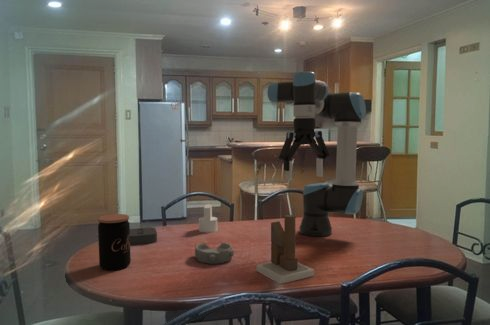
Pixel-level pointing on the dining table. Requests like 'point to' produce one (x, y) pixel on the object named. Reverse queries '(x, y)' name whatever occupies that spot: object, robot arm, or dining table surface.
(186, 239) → the dining table surface
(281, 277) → the stand
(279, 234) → the wooden block
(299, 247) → the dining table surface
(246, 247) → the dining table surface
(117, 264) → the coffee jar
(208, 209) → the base with upright slab
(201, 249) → the dish
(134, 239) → the streaming box
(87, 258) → the dining table surface
